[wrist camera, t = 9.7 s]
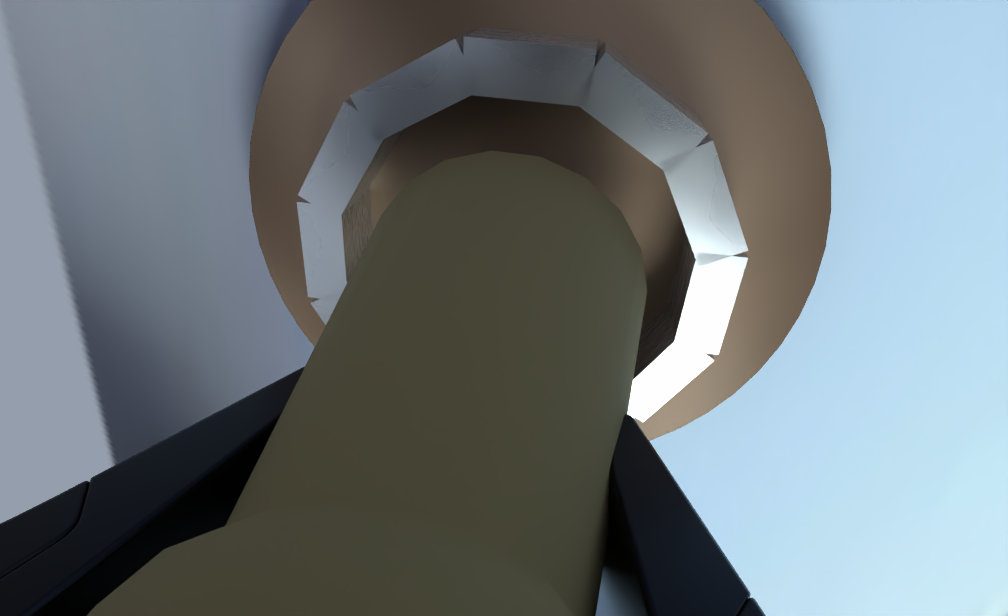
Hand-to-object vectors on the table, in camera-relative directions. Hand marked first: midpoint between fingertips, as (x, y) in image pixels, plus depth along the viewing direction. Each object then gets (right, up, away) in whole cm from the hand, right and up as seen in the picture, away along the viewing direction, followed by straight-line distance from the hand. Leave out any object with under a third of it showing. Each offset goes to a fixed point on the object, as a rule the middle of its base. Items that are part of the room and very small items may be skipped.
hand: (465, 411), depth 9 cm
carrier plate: (+1, +4, +6) cm, 7 cm away
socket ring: (+1, +3, +5) cm, 6 cm away
